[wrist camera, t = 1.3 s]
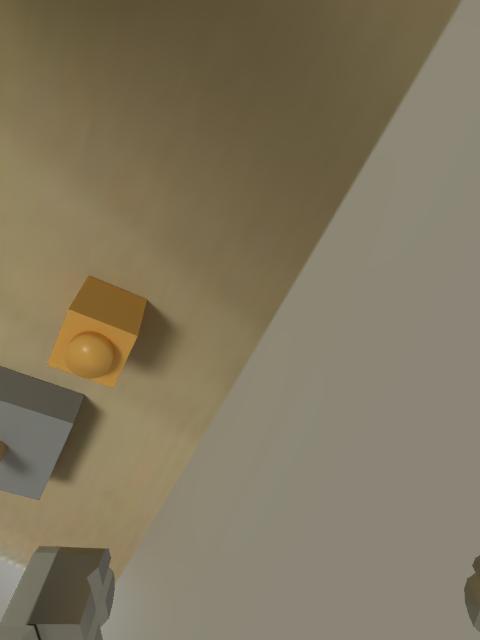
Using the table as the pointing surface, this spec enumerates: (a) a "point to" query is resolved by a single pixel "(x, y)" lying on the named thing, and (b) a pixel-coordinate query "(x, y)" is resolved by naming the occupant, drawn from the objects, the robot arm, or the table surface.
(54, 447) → the box
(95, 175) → the table surface
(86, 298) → the orange cube with knob
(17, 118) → the table surface
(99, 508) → the table surface
